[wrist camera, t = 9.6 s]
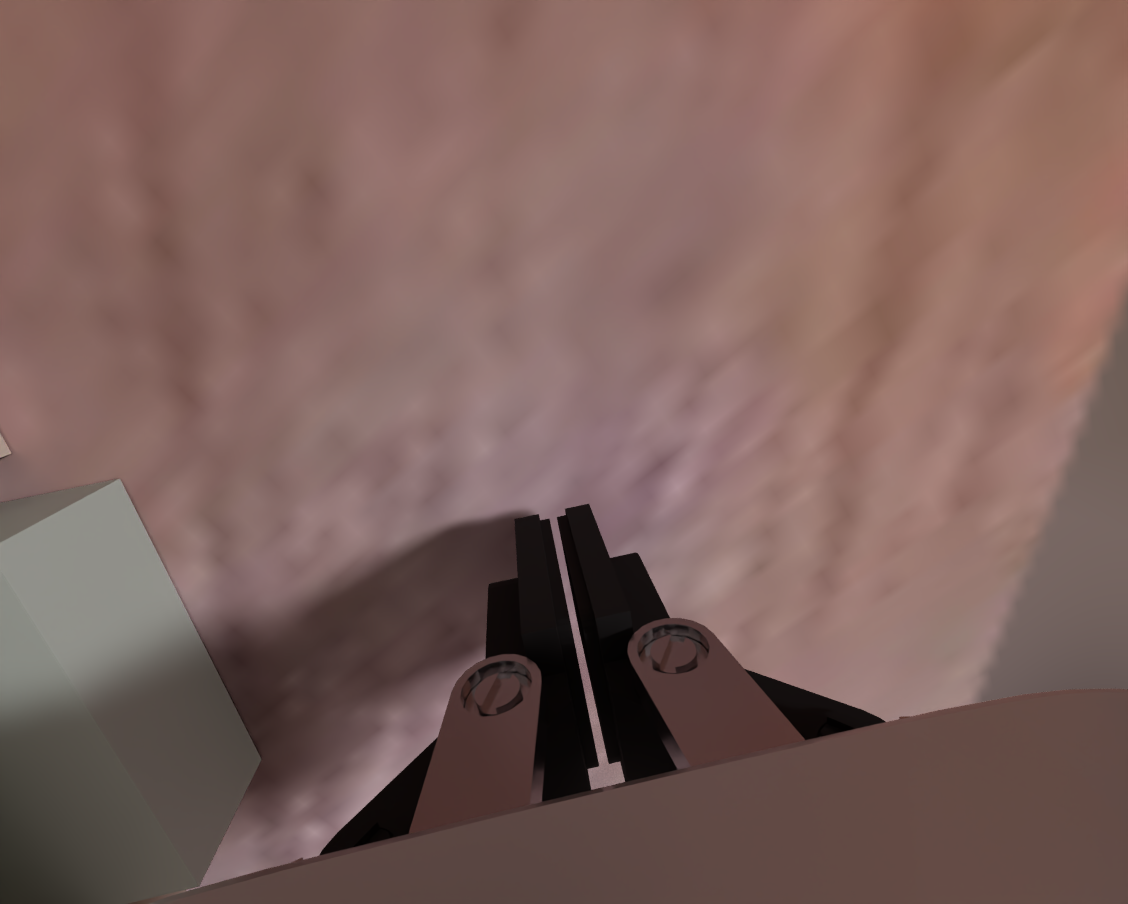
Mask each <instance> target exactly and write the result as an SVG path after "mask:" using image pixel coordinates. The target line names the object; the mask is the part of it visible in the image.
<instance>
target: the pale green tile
mask: <svg viewBox="0 0 1128 904" xmlns="http://www.w3.org/2000/svg"><path fill="white" fill-rule="evenodd" d="M261 760H262V759H261V757H260V755H259V753H258V751H257V749H256V747H255V745H254V743H253V741H252V739H251V738H250V736H249V734H248V732H247V730H246V728H245V726H244V724H243V722H242V720H241V718H240V716H239V714H238V712H237V710H236V708H235V706H234V704H233V702H232V700H231V698H230V696H229V694H228V692H227V690H226V688H225V686H224V684H223V682H222V680H221V678H220V676H219V674H218V672H217V670H216V668H215V666H214V664H213V662H212V660H211V658H210V656H209V654H208V652H207V650H206V648H205V646H204V644H203V642H202V641H201V639H200V637H199V635H198V633H197V631H196V629H195V627H194V625H193V623H192V621H191V619H190V617H189V615H188V613H187V611H186V609H185V607H184V605H183V603H182V601H181V599H180V597H179V595H178V593H177V591H176V589H175V587H174V585H173V583H172V581H171V579H170V577H169V575H168V573H167V571H166V569H165V567H164V565H163V563H162V561H161V559H160V557H159V555H158V553H157V551H156V549H155V547H154V545H153V544H152V542H151V540H150V538H149V536H148V534H147V532H146V530H145V528H144V526H143V524H142V522H141V520H140V518H139V516H138V514H137V512H136V510H135V508H134V506H133V504H132V502H131V500H130V498H129V496H128V494H127V492H126V490H125V488H124V486H123V484H122V482H121V480H120V479H115V480H110V481H105V482H100V483H95V484H91V485H86V486H81V487H76V488H71V489H66V490H61V491H56V492H51V493H46V494H41V495H36V496H32V497H27V498H22V499H17V500H12V501H7V502H2V503H0V904H128V903H132V902H137V901H141V900H145V899H149V898H153V897H157V896H161V895H165V894H169V893H174V892H178V891H182V890H186V889H190V888H194V887H198V886H200V884H201V882H202V880H203V878H204V876H205V874H206V872H207V870H208V867H209V865H210V863H211V861H212V859H213V857H214V855H215V853H216V851H217V849H218V847H219V845H220V843H221V841H222V839H223V837H224V835H225V833H226V831H227V829H228V827H229V825H230V823H231V821H232V819H233V817H234V815H235V812H236V810H237V808H238V806H239V804H240V802H241V800H242V798H243V796H244V794H245V792H246V790H247V788H248V786H249V784H250V782H251V780H252V778H253V776H254V774H255V772H256V770H257V768H258V766H259V764H260V762H261Z"/></svg>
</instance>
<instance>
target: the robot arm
mask: <svg viewBox="0 0 1128 904" xmlns="http://www.w3.org/2000/svg"><path fill="white" fill-rule="evenodd" d="M565 512H566V515H564V516H560V517H557V520H558V525H559V530H560V535H561V540H562V545H563V550H564V555H565V561H566V566H567V571H568V576H569V581H570V586H571V591H572V596H573V601H574V606H575V612H576V617H577V622H578V626H579V631H580V636H581V640H582V645H583V649H584V654H585V658H586V663H587V668H588V672H589V677H590V681H591V686H592V690H593V695H594V699H595V704H596V708H597V713H598V717H599V722H600V726H601V731H602V735H603V740H604V745H605V749H606V754H607V758H608V762H609V764H611V763H615V762H619V761H620V762H621V766H622V770H623V774H624V778H625V782H624V783H619V784H615V785H611V786H607V787H602V788H598V789H594V790H591V787H590V781H589V775H588V769H589V768H593V767H598V766H599V763H598V758H597V753H596V748H595V743H594V738H593V733H592V728H591V723H590V718H589V713H588V708H587V703H586V698H585V693H584V688H583V683H582V678H581V673H580V668H579V663H578V658H577V653H576V648H575V643H574V638H573V633H572V628H571V623H570V618H569V614H568V609H567V604H566V599H565V594H564V589H563V584H562V579H561V574H560V569H559V564H558V559H557V554H556V549H555V544H554V539H553V534H552V529H551V524H550V519H545V520H540V518H539V514H538V515H533V516H528V517H523V518H518V519H515V535H516V552H517V570H518V578H514V579H510V580H505V581H500V582H495V583H491V584H489V587H488V608H487V633H486V658H485V660H482V661H480V662H478V663H476V664H475V665H473V666H472V667H471V668H469V669H468V670H466V671H465V672H464V674H463V675H462V676H461V677H460V678H459V679H458V680H457V682H456V684H455V686H454V688H453V690H452V692H451V696H450V699H449V702H448V705H447V709H446V712H445V715H444V719H443V722H442V725H441V728H440V732H439V735H438V737H437V738H436V739H435V740H434V741H433V742H432V743H431V744H430V745H429V746H428V747H427V748H426V749H425V750H424V751H423V752H422V753H421V754H420V755H419V756H418V757H417V758H415V759H414V760H413V761H412V762H411V763H410V764H409V765H408V766H407V767H406V768H405V769H404V770H403V771H402V772H401V773H400V774H399V775H398V776H397V777H396V778H394V779H393V780H392V781H391V782H390V783H389V784H388V785H387V786H386V787H385V788H384V789H383V790H382V791H381V792H380V793H379V794H378V795H377V796H376V797H375V798H373V799H372V800H371V801H370V802H369V803H368V804H367V805H366V806H365V807H364V808H363V809H362V810H361V811H360V812H359V813H358V814H357V815H356V816H355V817H354V818H353V819H351V820H350V821H349V822H348V823H347V824H346V825H345V826H344V827H343V828H342V829H341V830H340V831H339V832H338V833H337V834H336V835H335V836H334V837H333V838H332V840H331V841H330V842H329V843H328V844H327V845H326V846H325V848H324V849H323V850H322V852H321V853H320V855H319V856H316V857H312V858H308V859H304V860H303V858H300V859H298V860H296V861H294V862H291V863H288V864H284V865H280V866H276V867H272V868H268V869H264V870H261V871H257V872H254V873H250V874H247V875H243V876H239V877H236V878H232V879H229V880H225V881H222V882H218V883H215V884H211V885H208V886H204V887H201V888H197V889H193V890H190V891H186V892H183V893H179V894H176V895H172V896H169V897H166V898H163V899H160V900H158V901H155V902H152V903H149V904H1128V689H1069V690H1060V691H1050V692H1041V693H1032V694H1023V695H1018V696H1013V697H1007V698H1002V699H997V700H991V701H986V702H980V703H975V704H970V705H964V706H959V707H954V708H948V709H943V710H938V711H933V712H929V713H925V714H920V715H916V716H911V717H899V719H898V720H894V721H889V722H885V721H884V720H882V719H881V718H879V717H877V716H874V715H872V714H870V713H868V712H866V711H864V710H861V709H858V708H855V707H852V706H849V705H847V704H844V703H841V702H838V701H835V700H832V699H829V698H826V697H824V696H821V695H818V694H815V693H812V692H809V691H806V690H804V689H801V688H798V687H795V686H792V685H789V684H786V683H783V682H781V681H778V680H775V679H772V678H769V677H766V676H763V675H760V674H758V673H755V672H752V671H749V670H746V669H744V668H743V667H742V666H741V665H740V664H739V662H738V661H737V660H736V659H735V658H734V657H733V656H732V654H731V653H730V652H729V651H728V650H727V649H726V647H725V646H724V645H723V644H722V643H721V642H720V640H719V639H718V638H717V637H716V636H715V635H714V633H712V632H711V631H710V630H709V629H708V628H706V627H705V626H704V625H701V624H699V623H697V622H695V621H692V620H687V619H682V618H670V617H669V615H668V613H667V611H666V609H665V607H664V605H663V603H662V601H661V599H660V597H659V595H658V593H657V591H656V589H655V587H654V585H653V583H652V581H651V579H650V577H649V575H648V573H647V570H646V568H645V566H644V564H643V562H642V560H641V558H640V556H639V555H638V553H632V554H627V555H622V556H618V557H613V558H610V557H609V554H608V552H607V549H606V547H605V544H604V541H603V539H602V536H601V534H600V531H599V528H598V526H597V523H596V521H595V518H594V515H593V513H592V510H591V508H590V505H589V504H586V505H581V506H576V507H571V508H567V509H565Z"/></svg>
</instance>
